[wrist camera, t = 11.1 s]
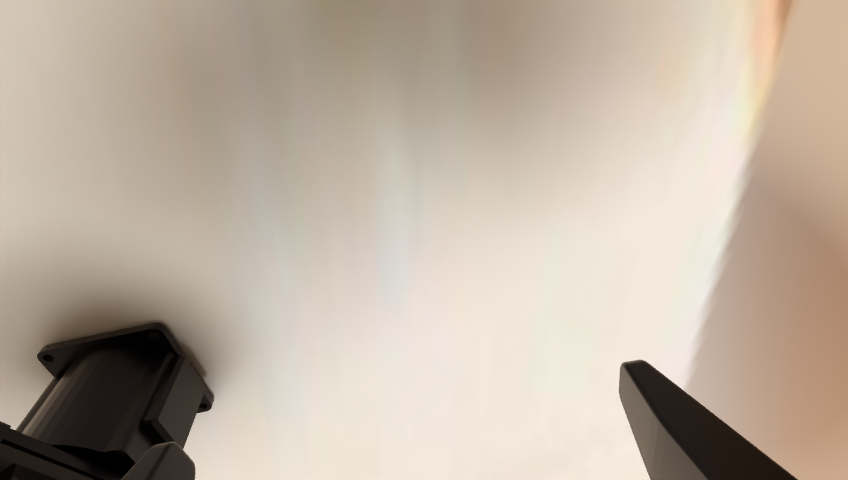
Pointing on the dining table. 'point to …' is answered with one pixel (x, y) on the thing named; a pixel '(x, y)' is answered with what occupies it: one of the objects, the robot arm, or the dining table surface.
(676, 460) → the robot arm
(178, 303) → the dining table surface
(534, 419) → the dining table surface
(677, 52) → the dining table surface
